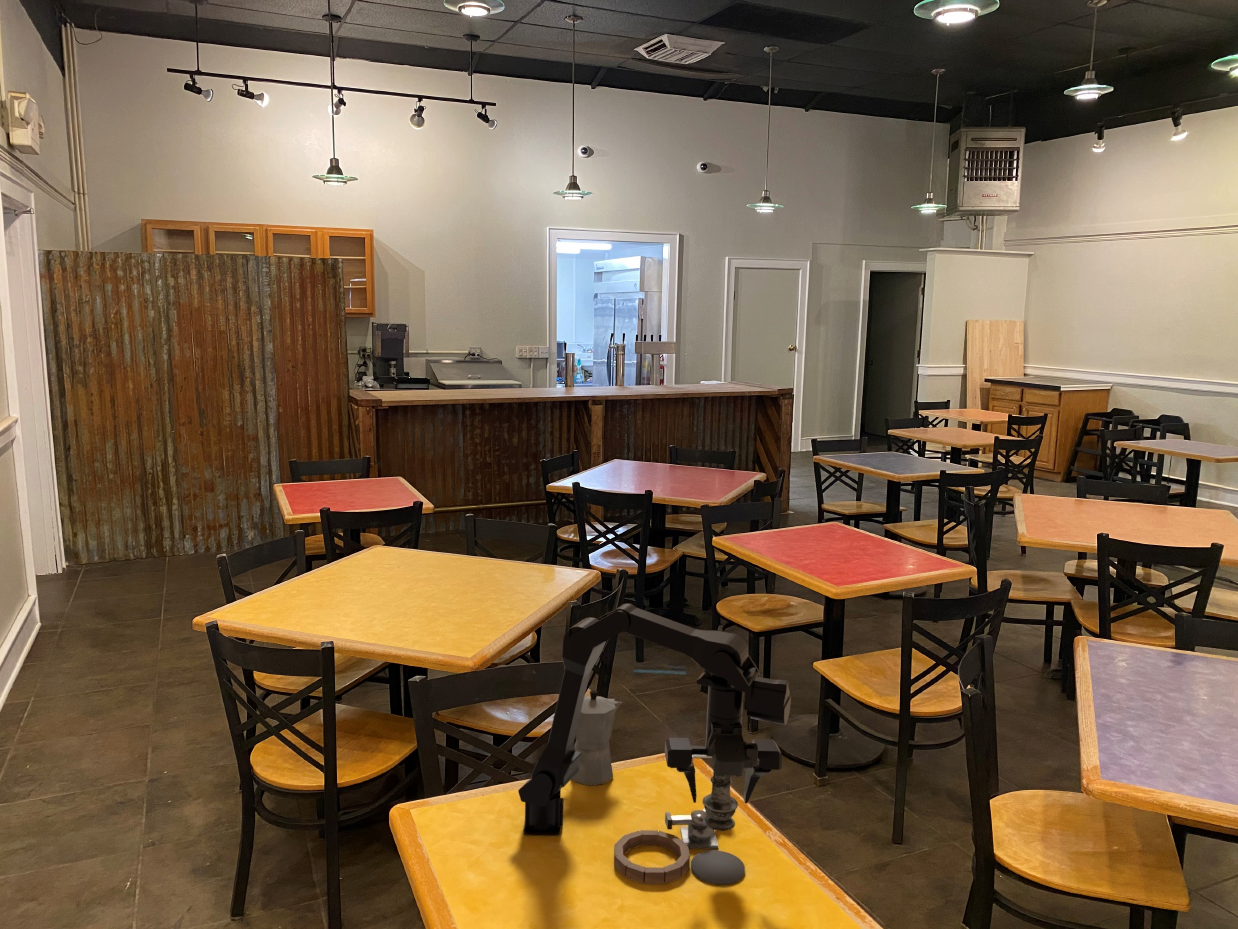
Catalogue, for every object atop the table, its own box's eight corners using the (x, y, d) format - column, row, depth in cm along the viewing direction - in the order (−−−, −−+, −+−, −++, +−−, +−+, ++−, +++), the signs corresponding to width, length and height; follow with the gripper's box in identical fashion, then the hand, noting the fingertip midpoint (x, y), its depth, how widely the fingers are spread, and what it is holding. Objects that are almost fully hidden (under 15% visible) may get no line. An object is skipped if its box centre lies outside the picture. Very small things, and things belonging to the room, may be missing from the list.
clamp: (659, 826, 152) (660, 804, 152) (698, 790, 166) (699, 769, 165) (695, 839, 149) (696, 816, 148) (732, 801, 162) (733, 779, 162)
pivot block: (684, 848, 151) (684, 835, 151) (680, 830, 157) (680, 817, 157) (718, 848, 151) (718, 835, 151) (713, 830, 157) (713, 817, 157)
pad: (694, 885, 141) (694, 881, 140) (687, 853, 149) (687, 850, 149) (749, 885, 141) (749, 881, 141) (739, 853, 150) (739, 850, 150)
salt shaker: (732, 812, 147) (735, 745, 146) (740, 831, 142) (744, 762, 140) (698, 813, 147) (701, 746, 145) (705, 832, 141) (709, 762, 139)
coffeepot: (608, 759, 184) (611, 677, 182) (630, 778, 176) (633, 693, 174) (542, 774, 176) (544, 689, 174) (562, 795, 168) (564, 706, 166)
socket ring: (615, 883, 140) (615, 872, 140) (613, 840, 153) (613, 830, 152) (692, 884, 141) (693, 872, 140) (684, 841, 153) (684, 830, 153)
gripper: (672, 732, 133) (668, 827, 135) (792, 734, 134) (786, 829, 136) (666, 703, 145) (662, 792, 146) (776, 705, 145) (771, 793, 147)
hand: (719, 802), depth 144 cm, fingers closed on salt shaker, 8 cm apart
